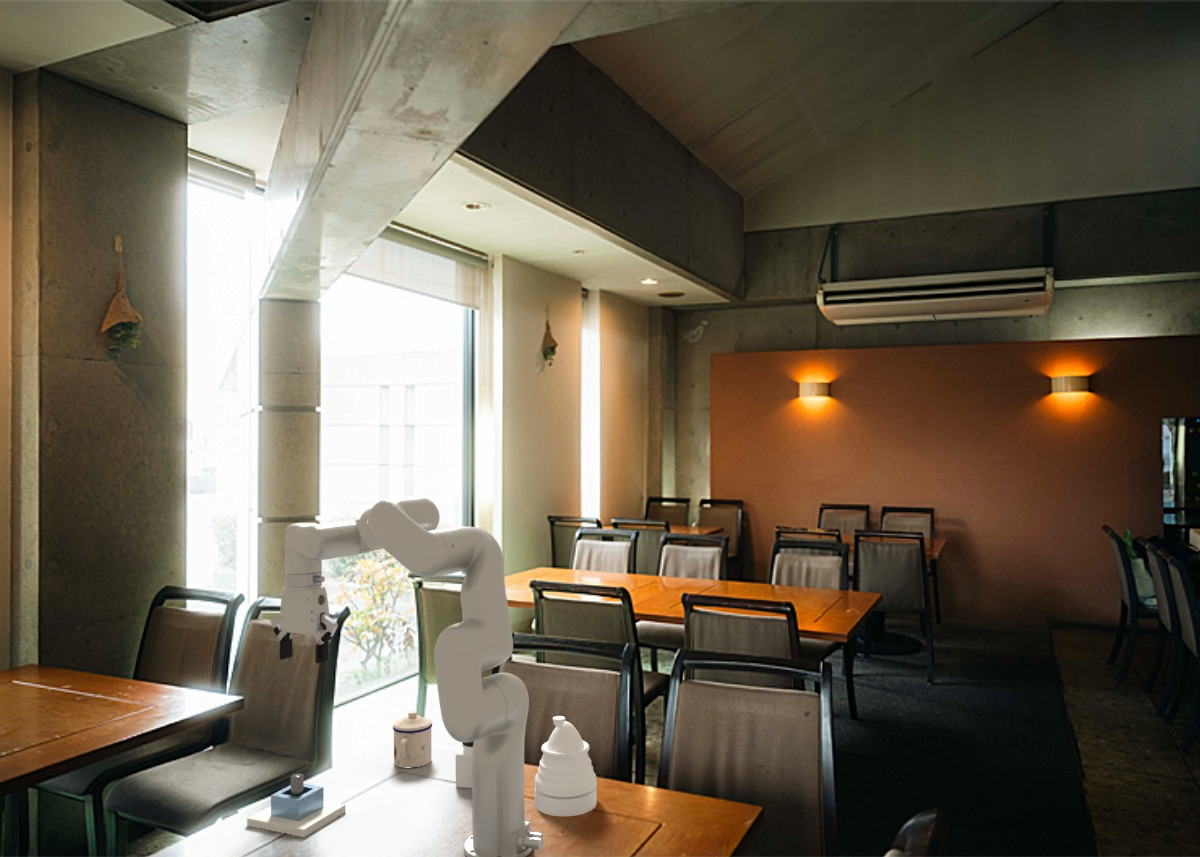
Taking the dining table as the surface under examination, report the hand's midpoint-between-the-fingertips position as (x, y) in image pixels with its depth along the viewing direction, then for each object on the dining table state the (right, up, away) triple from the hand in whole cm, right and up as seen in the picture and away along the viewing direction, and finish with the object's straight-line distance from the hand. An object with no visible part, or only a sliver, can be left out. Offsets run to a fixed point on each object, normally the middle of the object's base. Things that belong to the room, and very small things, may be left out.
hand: (303, 660), depth 183 cm
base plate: (+4, -28, -14) cm, 31 cm away
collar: (+4, -26, -14) cm, 30 cm away
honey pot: (+57, -28, -8) cm, 64 cm away
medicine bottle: (+37, -28, +4) cm, 46 cm away
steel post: (+4, -26, -14) cm, 30 cm away
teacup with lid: (+20, -29, +15) cm, 38 cm away
